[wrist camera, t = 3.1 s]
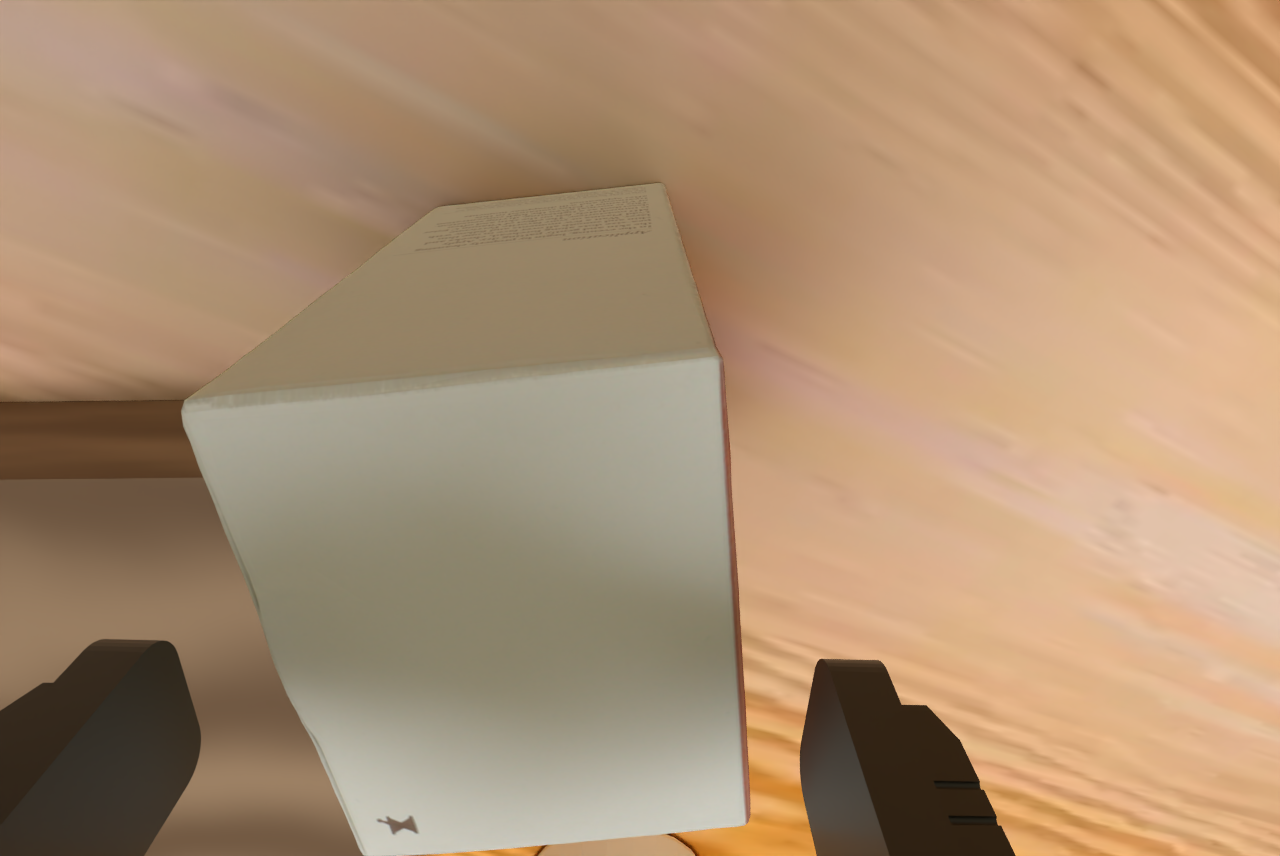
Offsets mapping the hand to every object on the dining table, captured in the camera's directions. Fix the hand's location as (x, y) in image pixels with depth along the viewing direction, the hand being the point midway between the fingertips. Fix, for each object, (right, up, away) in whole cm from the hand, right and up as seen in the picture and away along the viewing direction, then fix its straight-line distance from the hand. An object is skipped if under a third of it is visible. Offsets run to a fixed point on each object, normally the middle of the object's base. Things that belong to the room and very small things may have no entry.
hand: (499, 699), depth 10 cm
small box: (0, +6, +12) cm, 14 cm away
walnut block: (-12, -2, +16) cm, 21 cm away
